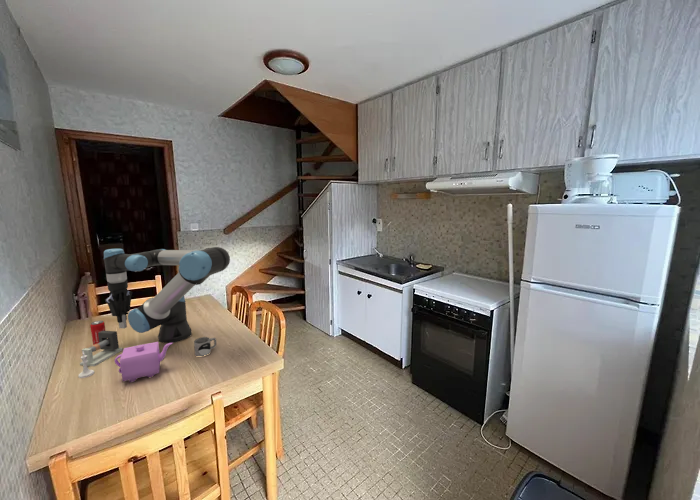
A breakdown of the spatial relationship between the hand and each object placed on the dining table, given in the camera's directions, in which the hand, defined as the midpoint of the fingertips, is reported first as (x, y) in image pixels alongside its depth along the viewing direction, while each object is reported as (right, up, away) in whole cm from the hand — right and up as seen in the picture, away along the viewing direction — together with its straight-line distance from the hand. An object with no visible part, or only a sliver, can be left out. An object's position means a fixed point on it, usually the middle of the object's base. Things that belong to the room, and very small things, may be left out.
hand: (123, 327), depth 143 cm
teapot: (+27, -13, -22) cm, 38 cm away
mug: (+43, -10, -5) cm, 45 cm away
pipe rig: (-1, -11, -10) cm, 15 cm away
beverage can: (-11, -9, 0) cm, 15 cm away
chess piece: (+3, -13, -24) cm, 27 cm away
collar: (-1, -8, -7) cm, 11 cm away
